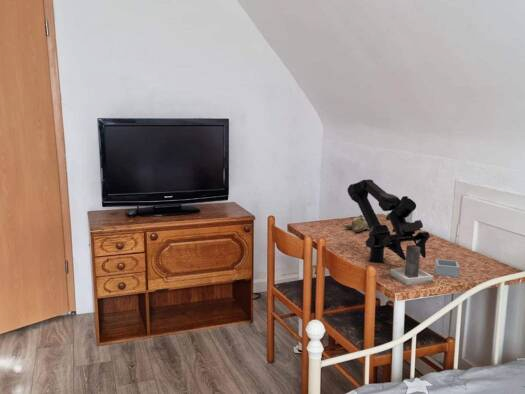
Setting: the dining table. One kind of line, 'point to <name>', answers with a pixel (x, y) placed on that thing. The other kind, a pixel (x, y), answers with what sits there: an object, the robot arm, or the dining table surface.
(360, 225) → the ceramic sculpture
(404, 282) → the tray
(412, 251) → the dark grey pillar
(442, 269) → the square frame
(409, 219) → the skincare box
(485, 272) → the dining table surface
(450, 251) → the dining table surface
